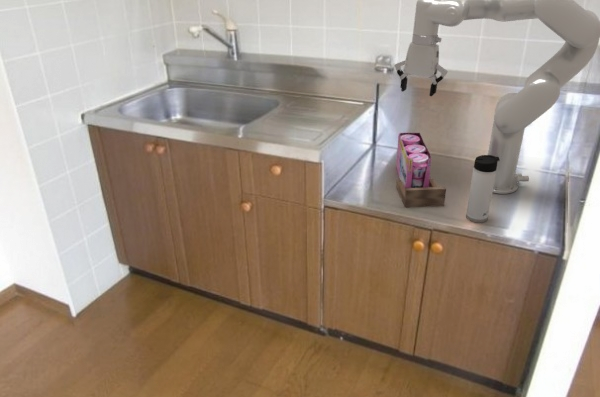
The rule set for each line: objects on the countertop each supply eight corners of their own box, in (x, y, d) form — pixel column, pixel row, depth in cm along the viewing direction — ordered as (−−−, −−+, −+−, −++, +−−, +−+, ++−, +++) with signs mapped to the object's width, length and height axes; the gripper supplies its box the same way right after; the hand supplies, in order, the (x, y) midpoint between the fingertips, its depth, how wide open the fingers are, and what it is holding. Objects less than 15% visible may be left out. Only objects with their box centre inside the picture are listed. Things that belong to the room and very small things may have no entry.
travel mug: (489, 223, 147) (501, 162, 137) (466, 222, 148) (476, 161, 138) (487, 213, 152) (498, 153, 143) (464, 211, 153) (474, 152, 144)
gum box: (429, 197, 162) (433, 160, 155) (404, 197, 162) (408, 160, 156) (417, 166, 183) (420, 132, 176) (395, 166, 183) (398, 132, 177)
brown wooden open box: (432, 185, 169) (433, 169, 166) (443, 205, 157) (446, 188, 154) (396, 186, 169) (397, 171, 166) (405, 207, 157) (406, 190, 154)
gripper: (455, 40, 155) (446, 94, 163) (402, 34, 162) (396, 85, 171) (448, 45, 149) (439, 100, 158) (394, 38, 157) (388, 91, 165)
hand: (417, 92), depth 164 cm, fingers open, 9 cm apart
